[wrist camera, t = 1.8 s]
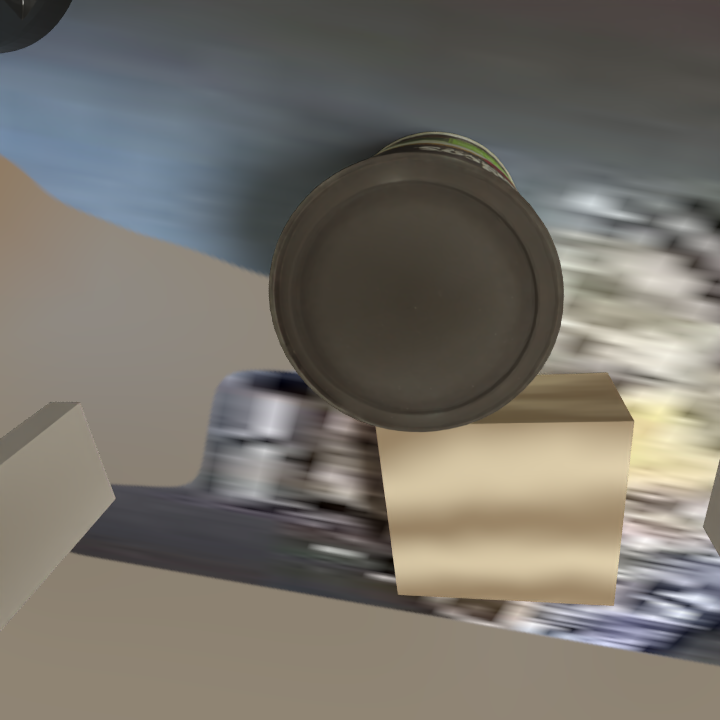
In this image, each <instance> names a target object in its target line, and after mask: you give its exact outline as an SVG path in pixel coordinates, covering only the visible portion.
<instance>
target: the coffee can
mask: <svg viewBox="0 0 720 720" xmlns="http://www.w3.org/2000/svg"><path fill="white" fill-rule="evenodd" d="M269 301H270V311H271V315H272V321H273V325H274V329H275V331H276V334H277V337H278V339H279V342H280V345H281V347H282V349H283V351H284V353H285V355H286V357H287V358H288V360H289V362H290V363H291V365H292V366H293V367H294V369H295V370H296V372H297V373H298V375H299V376H300V377H301V378H302V379H303V380H304V382H305V383H306V384H307V385H308V386H309V387H310V388H311V389H312V390H313V391H314V392H315V393H316V394H317V395H318V396H320V397H321V398H322V399H323V400H324V401H326V402H327V403H328V404H330V405H331V406H333V407H334V408H336V409H338V410H339V411H341V412H342V413H344V414H346V415H348V416H350V417H352V418H354V419H357V420H359V421H362V422H364V423H367V424H370V425H373V426H376V427H380V428H384V429H388V430H395V431H404V432H433V431H440V430H447V429H452V428H456V427H461V426H465V425H468V424H470V423H473V422H476V421H479V420H481V419H483V418H485V417H487V416H489V415H491V414H493V413H495V412H496V411H498V410H500V409H501V408H502V407H504V406H505V405H507V404H508V403H509V402H511V401H512V400H513V399H514V398H515V397H517V396H518V395H519V394H520V393H521V392H522V391H523V390H524V389H525V388H526V387H527V386H528V385H529V384H530V383H531V382H532V381H533V379H534V378H535V377H536V375H537V374H538V373H539V371H540V370H541V369H542V367H543V366H544V364H545V362H546V361H547V359H548V357H549V356H550V354H551V351H552V349H553V347H554V344H555V342H556V339H557V336H558V333H559V330H560V326H561V320H562V314H563V301H564V286H563V276H562V270H561V265H560V260H559V257H558V254H557V250H556V248H555V245H554V243H553V240H552V238H551V236H550V234H549V232H548V230H547V228H546V227H545V225H544V223H543V222H542V221H541V219H540V218H539V216H538V215H537V214H536V212H535V211H534V209H533V208H532V207H531V205H530V204H529V203H528V202H527V201H526V200H525V199H524V198H523V197H522V196H521V195H520V194H519V192H518V191H517V189H516V187H515V185H514V183H513V181H512V178H511V176H510V174H509V173H508V171H507V170H506V168H505V167H504V166H503V164H502V163H501V162H500V161H499V159H498V158H497V157H496V156H495V155H494V154H493V153H492V152H490V151H489V150H488V149H487V148H485V147H484V146H482V145H481V144H479V143H477V142H475V141H473V140H471V139H469V138H466V137H463V136H460V135H457V134H452V133H446V132H424V133H418V134H414V135H410V136H407V137H404V138H401V139H399V140H397V141H395V142H393V143H391V144H390V145H388V146H386V147H385V148H384V149H382V150H381V151H380V152H378V153H377V154H376V155H374V156H373V157H371V158H368V159H366V160H363V161H360V162H358V163H355V164H353V165H351V166H348V167H346V168H344V169H342V170H341V171H339V172H337V173H336V174H334V175H332V176H331V177H329V178H328V179H326V180H325V181H324V182H322V183H321V184H320V185H318V186H317V187H316V188H315V189H314V190H313V191H312V192H311V193H310V194H309V195H308V196H307V197H306V198H305V199H304V200H303V201H302V202H301V204H300V205H299V206H298V207H297V209H296V210H295V211H294V212H293V214H292V215H291V217H290V219H289V220H288V222H287V224H286V225H285V227H284V229H283V231H282V233H281V235H280V238H279V240H278V242H277V245H276V248H275V251H274V255H273V258H272V264H271V269H270V276H269Z"/></svg>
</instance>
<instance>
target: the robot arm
mask: <svg viewBox="0 0 720 720" xmlns="http://www.w3.org/2000/svg"><path fill="white" fill-rule="evenodd" d="M71 1H72V0H0V53H5V52H11V51H16V50H19V49H22V48H25V47H27V46H29V45H32V44H33V43H35V42H37V41H38V40H40V39H41V38H43V37H44V36H45V35H46V34H48V33H49V32H50V31H51V30H52V29H53V28H54V27H55V26H56V24H57V23H58V22H59V21H60V19H61V18H62V17H63V15H64V14H65V12H66V11H67V9H68V7H69V5H70V3H71ZM115 499H116V498H115V496H114V493H113V490H112V488H111V485H110V482H109V480H108V477H107V474H106V471H105V469H104V466H103V463H102V461H101V458H100V455H99V452H98V450H97V447H96V444H95V442H94V439H93V436H92V433H91V431H90V428H89V425H88V423H87V420H86V417H85V414H84V412H83V409H82V406H81V404H80V402H50V403H49V404H47V405H46V406H44V407H43V408H42V409H40V410H39V411H38V412H36V413H35V414H34V415H32V416H31V417H29V418H28V419H27V420H25V421H24V422H23V423H21V424H20V425H18V426H17V427H16V428H14V429H13V430H12V431H10V432H9V433H7V434H6V435H5V436H3V437H2V438H1V439H0V631H1V630H2V629H3V628H4V627H5V626H6V624H7V623H8V622H9V621H10V620H11V619H12V617H13V616H14V615H15V614H16V613H17V612H18V611H19V609H20V608H21V607H22V606H23V605H24V604H25V603H26V601H27V600H28V599H29V598H30V597H31V596H32V594H33V593H34V592H35V591H36V590H37V589H38V588H39V586H40V585H41V584H42V583H43V582H44V581H45V579H46V578H47V577H48V576H49V575H50V574H51V573H52V571H53V570H54V569H55V568H56V566H58V564H59V563H60V562H61V561H62V560H63V559H64V557H65V556H66V555H67V554H68V553H69V552H70V551H71V550H72V548H73V547H74V546H75V545H76V544H77V543H78V541H79V540H80V539H81V538H82V537H83V536H84V535H85V533H86V532H87V531H88V530H89V529H90V528H91V526H92V525H93V524H94V523H95V522H96V521H97V520H98V518H99V517H100V516H101V515H102V514H103V513H104V512H105V510H106V509H107V508H108V507H109V506H110V505H111V503H112V502H113V501H114V500H115ZM703 528H704V530H705V531H706V533H707V535H708V537H709V538H710V540H711V542H712V544H713V545H714V547H715V549H716V551H717V552H718V554H719V556H720V461H719V465H718V469H717V473H716V477H715V481H714V485H713V489H712V493H711V497H710V501H709V505H708V509H707V513H706V517H705V521H704V525H703Z"/></svg>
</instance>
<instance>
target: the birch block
mask: <svg viewBox="0 0 720 720" xmlns="http://www.w3.org/2000/svg"><path fill="white" fill-rule="evenodd" d="M633 428H634V420H633V418H632V416H631V415H630V413H629V411H628V409H627V407H626V405H625V404H624V402H623V400H622V398H621V396H620V395H619V393H618V391H617V389H616V387H615V385H614V384H613V382H612V380H611V378H610V376H609V375H608V373H581V374H551V375H536V377H535V378H534V379H533V381H532V382H531V383H530V384H529V385H528V386H527V387H526V388H525V389H524V390H523V391H522V392H521V393H520V394H519V395H518V396H517V397H515V398H514V399H513V400H512V401H511V402H509V403H508V404H507V405H505V406H504V407H502V408H501V409H500V410H498V411H496V412H495V413H493V414H491V415H489V416H487V417H485V418H483V419H481V420H479V421H476V422H473V423H470V424H468V425H465V426H461V427H456V428H452V429H447V430H440V431H433V432H404V431H395V430H388V429H384V428H380V427H376V433H377V441H378V448H379V455H380V463H381V470H382V478H383V485H384V493H385V500H386V508H387V515H388V523H389V530H390V537H391V545H392V552H393V560H394V567H395V575H396V582H397V590H398V595H414V596H434V597H453V598H473V599H492V600H512V601H531V602H551V603H570V604H590V605H609V606H614V599H615V590H616V581H617V572H618V563H619V554H620V545H621V536H622V527H623V518H624V509H625V500H626V491H627V482H628V473H629V464H630V455H631V446H632V437H633Z"/></svg>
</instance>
